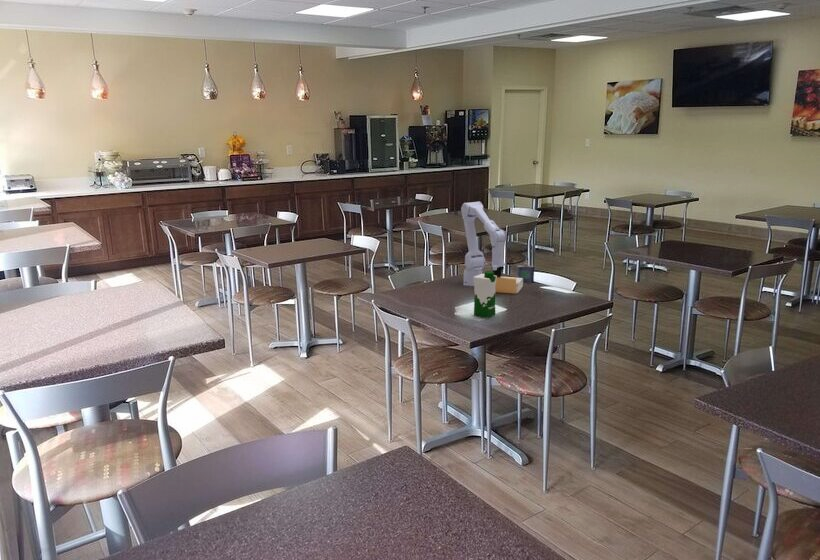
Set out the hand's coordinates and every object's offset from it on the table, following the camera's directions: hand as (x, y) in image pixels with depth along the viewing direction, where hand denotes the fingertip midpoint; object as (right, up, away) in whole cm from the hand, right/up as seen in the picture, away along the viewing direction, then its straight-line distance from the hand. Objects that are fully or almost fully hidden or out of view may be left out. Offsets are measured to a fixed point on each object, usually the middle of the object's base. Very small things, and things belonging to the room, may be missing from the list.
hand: (497, 281), depth 302 cm
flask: (+18, -1, +22) cm, 28 cm away
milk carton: (-11, -15, -33) cm, 37 cm away
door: (0, -6, +1) cm, 6 cm away
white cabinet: (+3, -4, +9) cm, 10 cm away
